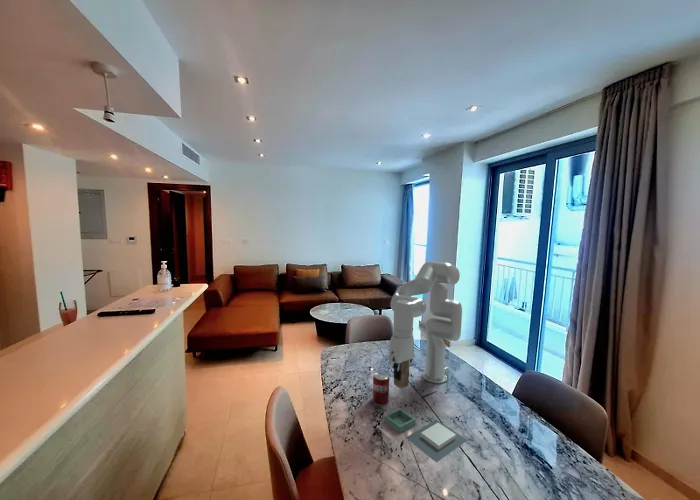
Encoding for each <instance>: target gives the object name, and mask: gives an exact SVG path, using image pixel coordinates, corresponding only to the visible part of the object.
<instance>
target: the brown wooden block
mask: <svg viewBox="0 0 700 500" xmlns="http://www.w3.org/2000/svg"><path fill="white" fill-rule="evenodd" d="M396 366H397V364H396ZM400 371H401V377H400V381H398V380H397V379H395V378H394V377H393V385H394V386H395V387H397V388H398V389H401V390H402V389H404V388H406V387H409V383H410V381H409V380H410V379H409V378H410V367H409V360H406V361H403V362H402V363H401V365H400Z"/></svg>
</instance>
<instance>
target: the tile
mask: <svg viewBox="0 0 700 500" xmlns="http://www.w3.org/2000/svg"><path fill="white" fill-rule="evenodd" d="M421 437H422V438H424V439H425V440H426V441H427V442H429V443H430V444H431V445H433V446H434V447H435V448H437V449H438V450H439V449H441V448H442V447H444V446H445V445H447V444H448V443H450V442H451V441H453V440H454V439H456V434H455V433H453V432H452V431H450V430H449V429H447V428H446V427H444V426H443V425H441V424H440V423H436V424H435V425H433V426H431V427H430V428H428V429H426V430H425V431H423V432H421Z"/></svg>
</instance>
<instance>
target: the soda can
mask: <svg viewBox="0 0 700 500" xmlns="http://www.w3.org/2000/svg"><path fill="white" fill-rule="evenodd" d="M389 399H390V376H389V374H388V373H385V372H376V373H374V374H373V376H372V402H373V403H374V404H375V405H377V406H381V407H382V406H386V405H387V404H388V403H389V402H390V400H389Z"/></svg>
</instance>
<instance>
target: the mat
mask: <svg viewBox="0 0 700 500" xmlns="http://www.w3.org/2000/svg"><path fill="white" fill-rule="evenodd" d="M436 423H440V424H441V425H443V426H444V427H446V428H447V429H449V430H450V431H452V432H453V433H455V434H456V439H454V440H453V441H451V442H450V443H448V444H447V445H445V446H444V447H442V448H441V449H439V450H438V449H437V448H435V447H434V446H433V445H431V444H430V443H429V442H427V441H426V440H425V439H424V438H422V437H421V432H423V431H425V430H426V429H428V428H430V427H431V426H433V425H435V424H436ZM405 439H407V440H408V441H409V442H410V443H412V444H413V445H414V446H415V447H417V448H418V449H419V450H421V451H422V452H423V453H424V454H426V455H427V457H429V458H430V459H432V460H433V461H434V462H436V463H437V462H439V461H441V460H442V459H443V458H445V457H446V456H448V455H449V454H450V453H452V452H454V451H455V450H456V449H458V448H459V447H460V446H462V445H464V444H465V443H466V442H468V439H466V438H465V437H464V436H462V435H461V434H459V433H458V432H456V430H455V431H454V430H453V429H451V428H450V427H448V426H447V425H446V424H443V423H442V422H441V421H439V420H437V419H435V420H433V421H432V422H430V423H427V424H426V425H424V426H423V427H421V428H419V429H418V430H416V431H414V432H412V433H410V434H409V435H407V436H406V437H405Z"/></svg>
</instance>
